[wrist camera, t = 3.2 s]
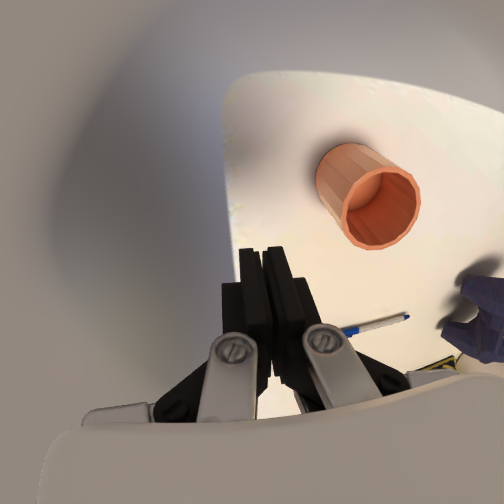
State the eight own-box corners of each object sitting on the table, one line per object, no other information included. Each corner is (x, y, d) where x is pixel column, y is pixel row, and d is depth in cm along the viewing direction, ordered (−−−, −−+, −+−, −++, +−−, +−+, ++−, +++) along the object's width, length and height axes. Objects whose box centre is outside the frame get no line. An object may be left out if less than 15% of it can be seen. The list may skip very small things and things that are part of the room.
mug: (484, 357, 42) (506, 394, 34) (448, 375, 43) (469, 418, 34) (507, 315, 35) (536, 356, 27) (470, 335, 36) (499, 383, 27)
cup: (335, 130, 19) (370, 150, 14) (393, 162, 20) (434, 190, 16) (302, 196, 21) (324, 234, 17) (360, 220, 23) (391, 259, 18)
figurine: (423, 345, 33) (474, 402, 24) (453, 274, 26) (525, 338, 17) (468, 312, 35) (514, 357, 26) (496, 247, 29) (554, 294, 20)
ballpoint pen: (321, 339, 30) (323, 346, 29) (321, 334, 30) (323, 341, 29) (407, 315, 30) (410, 321, 29) (408, 310, 30) (412, 316, 29)
